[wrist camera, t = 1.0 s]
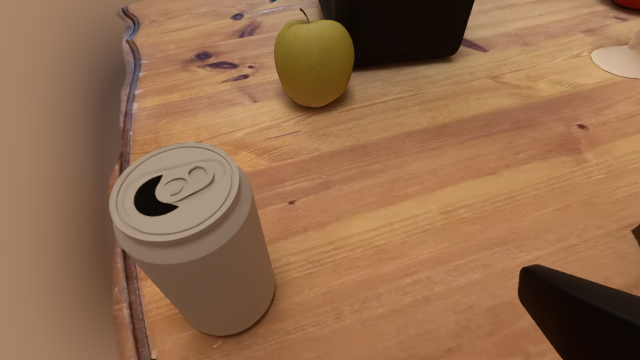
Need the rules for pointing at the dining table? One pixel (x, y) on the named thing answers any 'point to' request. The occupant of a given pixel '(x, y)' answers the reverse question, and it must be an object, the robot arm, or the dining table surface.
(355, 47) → the air purifier
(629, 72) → the champagne flute
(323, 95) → the apple
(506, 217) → the dining table surface
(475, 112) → the dining table surface
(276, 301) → the dining table surface
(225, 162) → the beverage can
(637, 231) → the dish rack
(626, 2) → the fruit
